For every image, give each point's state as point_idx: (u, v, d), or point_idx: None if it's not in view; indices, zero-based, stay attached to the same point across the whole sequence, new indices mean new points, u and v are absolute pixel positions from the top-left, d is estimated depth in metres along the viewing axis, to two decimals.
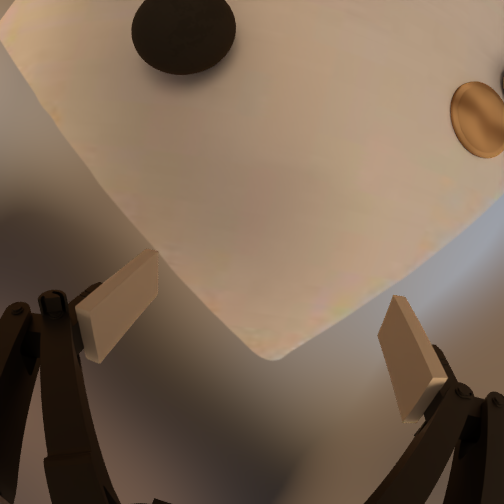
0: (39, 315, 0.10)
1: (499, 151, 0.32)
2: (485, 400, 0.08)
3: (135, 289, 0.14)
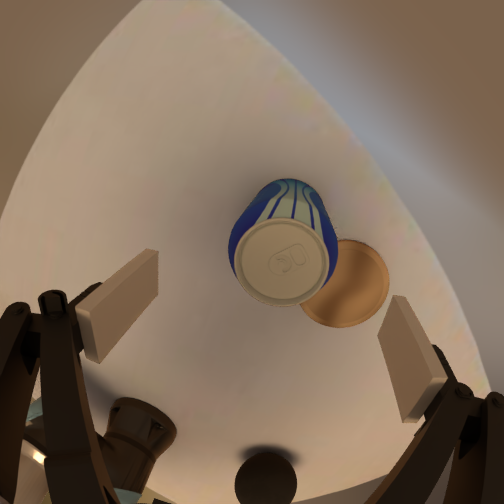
0: (39, 315, 0.10)
1: (381, 263, 0.35)
2: (485, 400, 0.08)
3: (135, 289, 0.14)
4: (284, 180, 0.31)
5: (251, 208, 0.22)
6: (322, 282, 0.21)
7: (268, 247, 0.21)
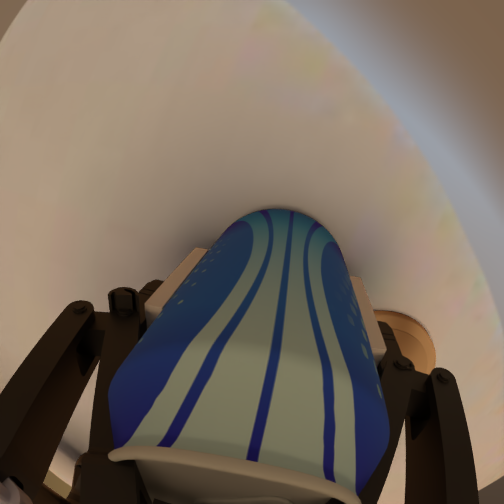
0: (102, 313, 0.11)
1: (428, 344, 0.19)
2: (429, 377, 0.09)
3: None
4: (268, 215, 0.16)
5: (136, 361, 0.06)
6: None
7: (186, 487, 0.05)
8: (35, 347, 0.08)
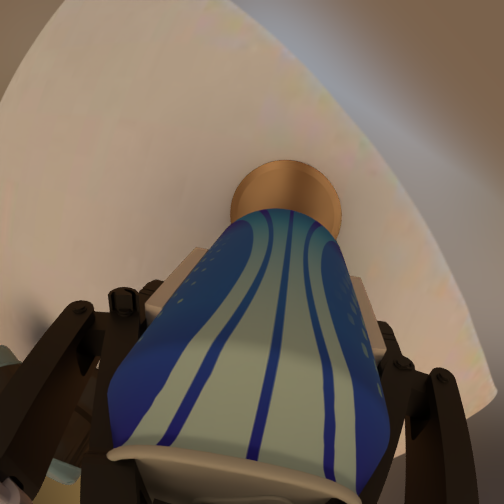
0: (102, 313, 0.11)
1: (328, 186, 0.30)
2: (429, 377, 0.09)
3: None
4: (268, 214, 0.16)
5: (136, 360, 0.06)
6: None
7: (186, 486, 0.05)
8: (34, 347, 0.08)
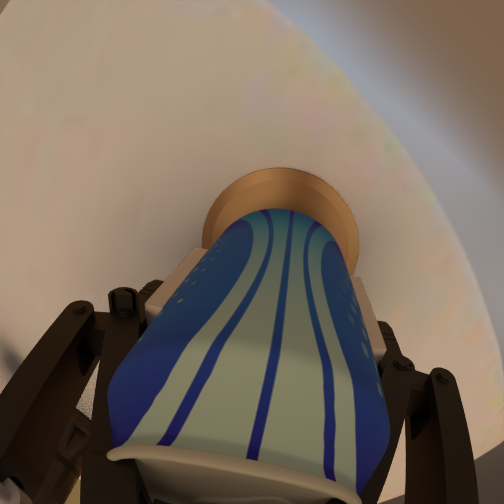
0: (102, 313, 0.11)
1: (341, 206, 0.21)
2: (429, 377, 0.09)
3: None
4: (268, 214, 0.16)
5: (136, 360, 0.06)
6: None
7: (185, 486, 0.05)
8: (34, 347, 0.08)
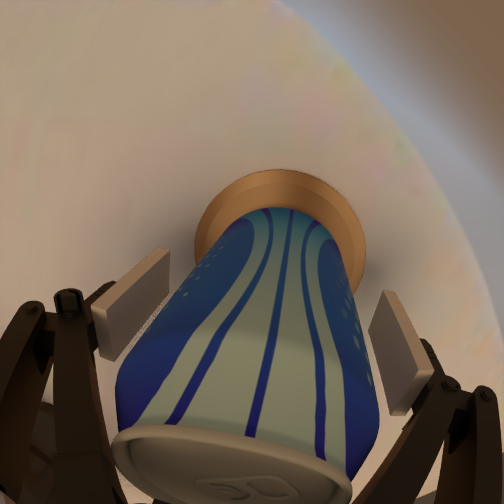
0: (53, 314, 0.10)
1: (347, 212, 0.19)
2: (473, 394, 0.08)
3: (148, 288, 0.14)
4: (269, 213, 0.16)
5: (145, 348, 0.07)
6: None
7: (188, 467, 0.06)
8: None
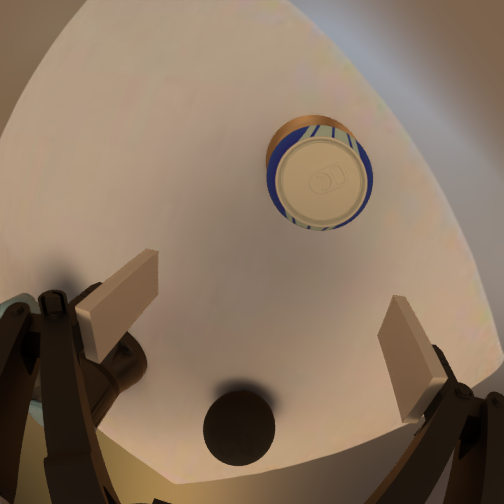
0: (39, 315, 0.10)
1: None
2: (485, 400, 0.08)
3: (135, 289, 0.14)
4: None
5: (292, 132, 0.21)
6: (360, 202, 0.20)
7: (310, 165, 0.20)
8: None
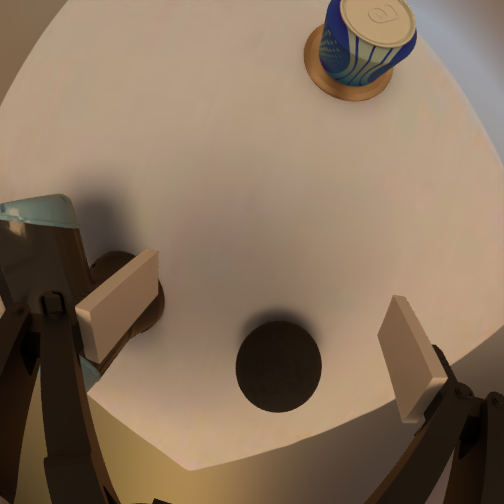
0: (39, 315, 0.10)
1: None
2: (485, 400, 0.08)
3: (135, 289, 0.14)
4: None
5: None
6: (413, 31, 0.17)
7: (367, 2, 0.17)
8: None
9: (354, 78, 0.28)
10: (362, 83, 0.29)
